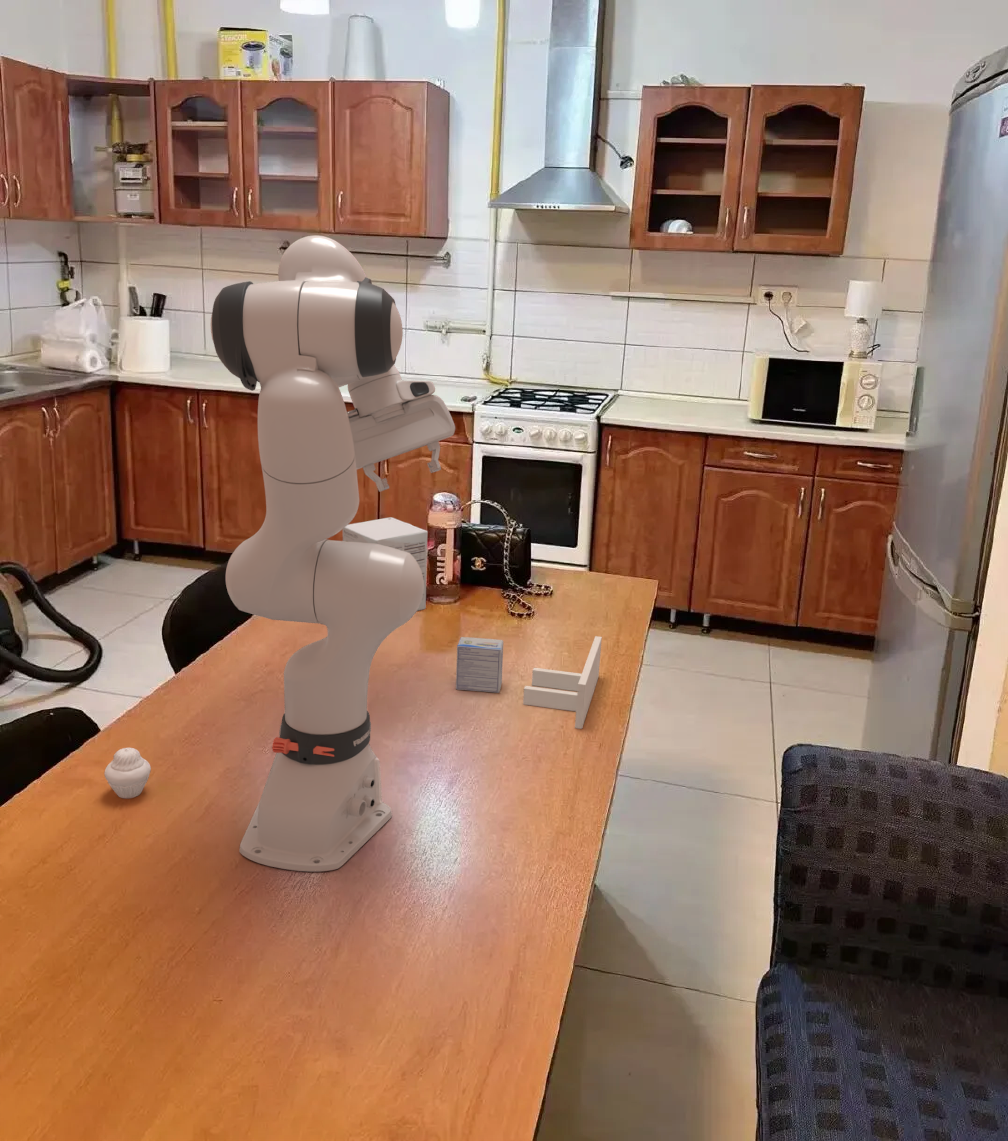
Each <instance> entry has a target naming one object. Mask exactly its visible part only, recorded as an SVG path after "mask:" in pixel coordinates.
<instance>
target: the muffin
mask: <svg viewBox="0 0 1008 1141" xmlns="http://www.w3.org/2000/svg"><path fill="white" fill-rule="evenodd" d="M112 757H113V759H111V761H110V762H109V763H108V765H107V766H106V767H105V770H104V778H105V780H106V781H107V784H108V785H109V786H110V788H111V789H112V790H113V791H114V793H115V794H116V795H117V796H118V797H119V798H121V799H126V800H127V799H133V798H136V797H139V795H141V793H142V792H143V790H144V788H145V786H146V784H147V782H148V780H149V777H150V774H151V771H152V770H151V769H152V767H151V764H150V763H149V761H148V760H147V759H145V758H143V757H142V756H141V753H140V751H139V750H138V749H136V748H133V747H123V748H119V750H117V751H116V752H115V753H114V755H113V756H112Z"/></svg>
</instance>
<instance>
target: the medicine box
mask: <svg viewBox="0 0 1008 1141" xmlns="http://www.w3.org/2000/svg"><path fill="white" fill-rule="evenodd" d="M503 660H504V640H503V639H495V638H494V639H493V638H481V637H468V636H461V637H460V638H459V641H458V643H457V645H456V666H455V667H456V669H455V670H456V671H455V672H456V674H455V675H456V676H455V677H456V678H455V690H461V691H462V690H463V691H472V692H473V691H474V692H475V691H476V692H485V693H496V694H497V693H498V694H499V693H500V692H501V686H502V682H503V664H504V663H503Z"/></svg>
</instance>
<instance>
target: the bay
mask: <svg viewBox="0 0 1008 1141" xmlns="http://www.w3.org/2000/svg"><path fill="white" fill-rule="evenodd" d="M602 639H603V637H602V636H597V635H595V636H594V639H593V642H592V645H591V647H590V650H589V653H588V655H587V658H586V661H585V664H584V667H583V670H582V673H579V672H572V671H571V672H570V671H563V670H556V669H547V668H540V667H533V669H532V676H531V677H532V678H531V686H530V685H524V688H523V696H522V697H523V699H522V700H523V701H522V702H523V703H522V704H523V705H526V706H533V707H541V708H548V709H549V708H550V709H555V710H556V709H557V710H563V711H569V712H571V711H572V712H575V720H574V722H575V724H574V729H577V730H578V729H581V730H582V729H583V727H584V724H585V720H586V717H587V715H588V711H589V708H590V705H591V702H592V699H593V697H594V693H595V690H596V687H597V684H598V680H599V678H600V676H599V675H600V662H601V654H602V653H601V650H602Z"/></svg>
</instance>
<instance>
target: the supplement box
mask: <svg viewBox="0 0 1008 1141" xmlns="http://www.w3.org/2000/svg"><path fill="white" fill-rule="evenodd" d="M342 541H348V542H361V543H374V544H380V545H384V546H388V547H391V548H395V549H398V550H402V551H405V552H408V553H410V554H411V555H412V556H413V557H414V558H415V560H416V561H417V563H418V565H419V567H420V569H421V571H422V575H423V580H424V592H423V598H422V601H421V604H420V606H419V608H418V610H417V611H416V612H418V611H422V610H425V609H426V607H427V606H426V605H427V603H426V602H427V568H428V567H427V566H428V565H427V563H428V530H426V529H423V528H420V527H419V526H414V525H412V524H411V523H409V522H405V521H402V520H400V519H397V518H395V517H391V516H390V517H384V518H379V519H372V520H368V521H362V522H361V521H360V522H354V523H349V524H348V525H347V526H346V527H344V528H343V529H342Z"/></svg>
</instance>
